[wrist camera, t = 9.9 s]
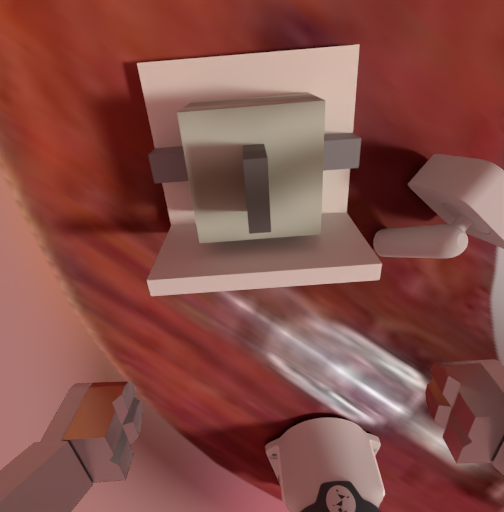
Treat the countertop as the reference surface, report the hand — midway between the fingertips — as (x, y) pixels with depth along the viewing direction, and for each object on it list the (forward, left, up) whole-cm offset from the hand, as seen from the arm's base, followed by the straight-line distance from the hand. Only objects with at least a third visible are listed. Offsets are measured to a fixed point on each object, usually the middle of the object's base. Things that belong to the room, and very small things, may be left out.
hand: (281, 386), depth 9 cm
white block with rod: (-8, -16, -27) cm, 33 cm away
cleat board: (0, 0, -27) cm, 27 cm away
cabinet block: (0, 0, -25) cm, 25 cm away
